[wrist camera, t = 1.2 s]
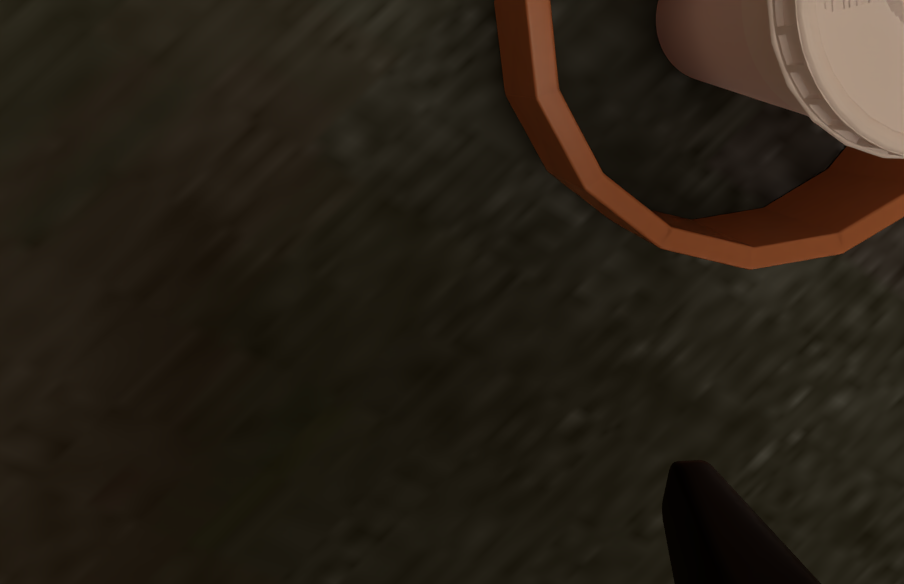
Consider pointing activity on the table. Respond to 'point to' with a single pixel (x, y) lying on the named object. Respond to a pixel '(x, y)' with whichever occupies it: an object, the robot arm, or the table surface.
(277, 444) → the table surface
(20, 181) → the table surface
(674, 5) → the smoothie
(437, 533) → the table surface
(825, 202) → the copper pot
